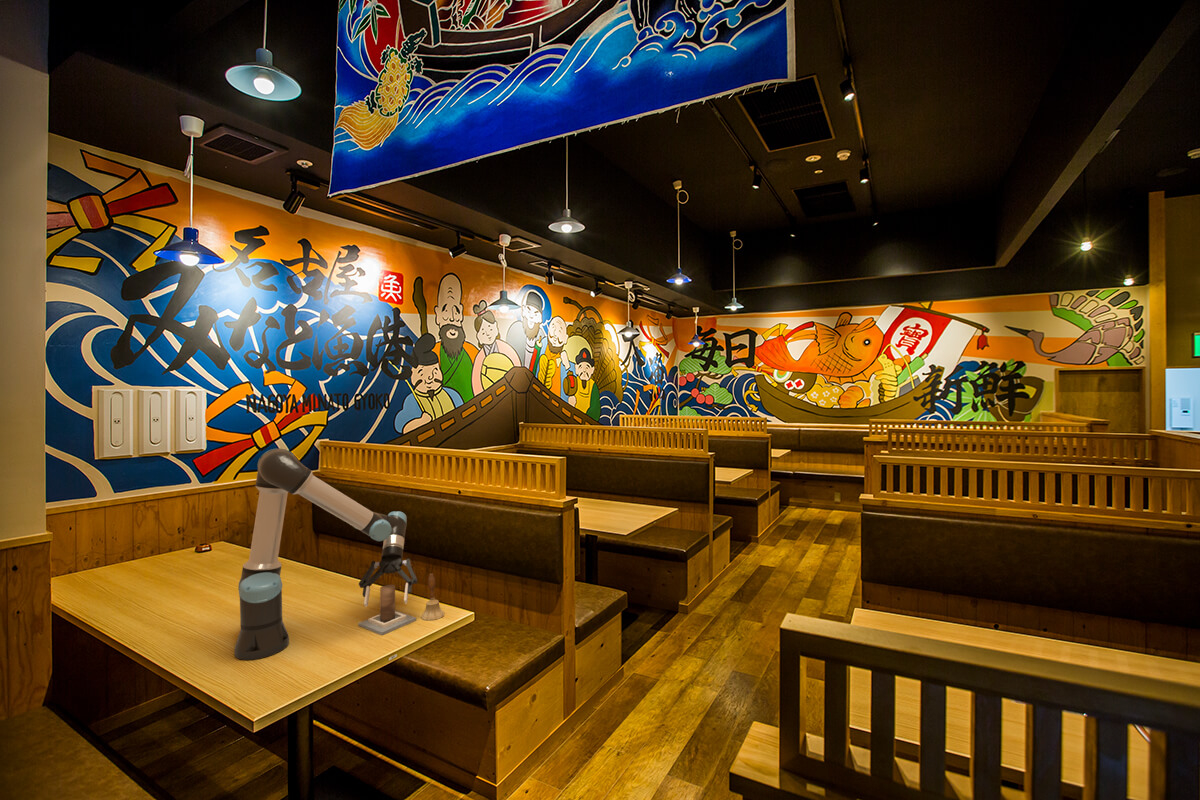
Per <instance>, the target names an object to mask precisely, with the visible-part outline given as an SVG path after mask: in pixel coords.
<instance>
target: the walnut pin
mask: <svg viewBox="0 0 1200 800" xmlns="http://www.w3.org/2000/svg"><path fill="white" fill-rule="evenodd" d="M379 589H380V590H379V593H380V595H379V598H380V599H379V600H380V601H379V603H380V604H379V605H380V607H379V608H380V609H379V610H380V612H379V613H380V622H383V623H386V622H388V621H391V620H393V619H395V610H396V585H394V584H387V585H383V586H380V588H379Z"/></svg>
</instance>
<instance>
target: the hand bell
mask: <svg viewBox="0 0 1200 800" xmlns="http://www.w3.org/2000/svg"><path fill="white" fill-rule="evenodd" d="M427 585H428V588H429V600H428V601H427V602H426V603H425V604H426V605H425V610H424V611H423V613H422V614H421V619H422V620H423V621H436V620H439V619H441V618H442V619H443V617H444V616H445V612H444V610H442V609H441V607H440V602H439V599H436V596H435V587H436V579H435V576H434V573H429V576H428V580H427Z"/></svg>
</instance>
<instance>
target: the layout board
mask: <svg viewBox="0 0 1200 800" xmlns="http://www.w3.org/2000/svg"><path fill="white" fill-rule="evenodd" d="M416 621H417V617H416V616H415V617H414V616H413V615H411V614H410V615H409V614H407V613H405V612H401V611H399V610H396V609H395V619H393V620H391V621H388V622H386V623H383V622H380V614H377V615H375V616H372V617H369V618H367V619H365V620H363V621H360V622H358V627H360V628H363V629H366V630H368V631H370V632H373V633H375V634H377V635H380V636H384V635H386V634H389V633H390V632H392V631H395V630H397V629H400V628H402V627H405V626H407V625H408V624H411V623H413V622H416Z"/></svg>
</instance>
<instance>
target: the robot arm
mask: <svg viewBox="0 0 1200 800" xmlns="http://www.w3.org/2000/svg"><path fill="white" fill-rule="evenodd" d="M255 488H256V489H257V491H259V492H258V493H259V495H258V499H257V500H258V501H257V505H256V506H257V507H256V514H255V518H254V519H255V521H254V526H253V533H252V539H251V545H250V551H249V558H248V560H247V561H246V562H244V563H243V564H242V570H241V576H240V579H239V582H238V586H237V587H238V594H239V595H238V596H239V612H240V613H239V615H240V616H239V617H240V631H239V634H238V636H237V639H236V643H235V644H234V645H235V646H234V657H235V658H236V659H238V660H243V661H249V660H250V661H252V660H258V659H262V658H267V657H269V656H273V655H275V653H276V654H277V653H278V654H279V653H280V652H281V650H282V651H284V650H285V649H286V648H287V647H288V646H289V643H290V636H289V633H288V630H287V628H286V626H285V623H284V622H283V595H282V594H283V591H282V589H283V582H282V578H281V571H282V565H283V564H282V562H281V561H279V553H280V547H281V541H282V533H283V527H284V519H285V513H286V507H287V499H288V494H290V495H299V496H300V497H303V498H304V499H306V500H307V501H309V502H311V503H313V504H314V505H316V506H318V507H320V508H321V509H323V510H324V511H326V512H327V513H329V514H332V515H333V516H335V517H336V518H339V519H340V520H341V521H343V522H346V523H347V524H349V525H350V526H352V527H353V528H354V529H356V530H359V531H360V532H362V533H363V534H365V535H367V536H368V537H370V539H371V540H374V541H376V542H382V541H383V542H382V543H383V545H382V551H381V557H380V561H377V562H376V561H375V560H372V561H371V563H370V566H369V568H368V569H367V570H366V571H365V574H364V575H363V576H362V578H361V579H360V581H359V582H358V586H359V588H361V589H363V590H362V597H363V598H364V600H363V605H364V608H367V607H368V606H369V598H370V593H371V588H370V587H371V586H372V585H373V584H374V583H376V581H377V580H378V579H380V577H382V576H383V575H384V574H385V575H388V574H395V573H398V575H399V576H401V578H402V579H403V580H404V581H405V582H406V583H405V586H404V587H405V588H404V597H403V601H404V604H408V600H409V599H408V598H409V594H411V593H412V590H413V589H412V588H413V585H414V584H418V578H417V576H416V573H415V571H414V570H413V567H412V565H411V559H410V558H407V559H405V560H403V555H404V554H403V553H404V547H405V546H404V545H405V536H406V530H407V518H408V517H407V515H406V514H405V513H404V512H402V511H398V510H397V511H395V510H394V511H391V512H389V513H388V514H383V513H379V512H375V511H372V510H370V509H369V508H367V507H365V506H363V505H362V504H360V503H358V502H357V501H356V500H354V499H352V498H351V497H349V496H348V495H346V494H344V493H342V492H341V491H339V490H338V489H336V488H334V487H333V486H331V485H329V484H328V483H326V482H325V481H323V480H321V478H318V477H317V476H315V475H314V474H313V470H312V469H309V468H308V467H306V466H305V465H304V464H303V463H301V461H300V460H299V459H298V458H297V457H296V456H295V454H294V453H293V452H291V451H290V450H288V449H285V448H273V449H272V448H271V449H269V450H267V451H266V452H264V453H262V455H261V456H260V457H259V459H258V462H257V474H256V481H255ZM403 565H404V566H405V567H407V568H406V569H407V570H408V572H409V574H410V577H411V578H410V577H409V576H408V575H407V573H405V571H404V570H403V568H402V566H403ZM378 567H379V568H378ZM377 568H378V569H377ZM376 569H377V570H376ZM375 570H376V572H375ZM374 572H375V573H374ZM373 573H374V574H373ZM284 648H285V649H284Z"/></svg>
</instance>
